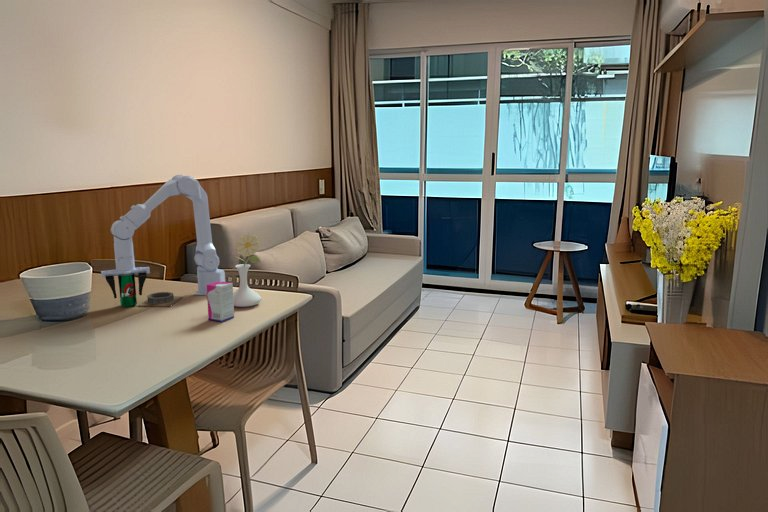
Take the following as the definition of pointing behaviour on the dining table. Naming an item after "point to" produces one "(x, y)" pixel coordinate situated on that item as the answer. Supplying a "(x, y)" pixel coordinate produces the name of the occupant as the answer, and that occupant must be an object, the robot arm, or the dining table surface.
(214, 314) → the supplement box
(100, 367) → the dining table surface
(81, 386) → the dining table surface
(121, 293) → the soda can
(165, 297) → the can socket
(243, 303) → the flower in vase
